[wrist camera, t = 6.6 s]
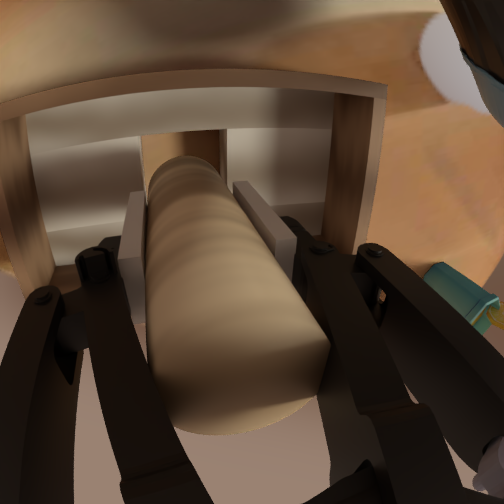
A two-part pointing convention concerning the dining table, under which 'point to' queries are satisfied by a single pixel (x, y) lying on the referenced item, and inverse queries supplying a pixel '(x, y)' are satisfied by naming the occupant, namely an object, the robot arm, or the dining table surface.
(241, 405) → the peg
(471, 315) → the cup
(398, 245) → the dining table surface
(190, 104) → the crate
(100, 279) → the robot arm
